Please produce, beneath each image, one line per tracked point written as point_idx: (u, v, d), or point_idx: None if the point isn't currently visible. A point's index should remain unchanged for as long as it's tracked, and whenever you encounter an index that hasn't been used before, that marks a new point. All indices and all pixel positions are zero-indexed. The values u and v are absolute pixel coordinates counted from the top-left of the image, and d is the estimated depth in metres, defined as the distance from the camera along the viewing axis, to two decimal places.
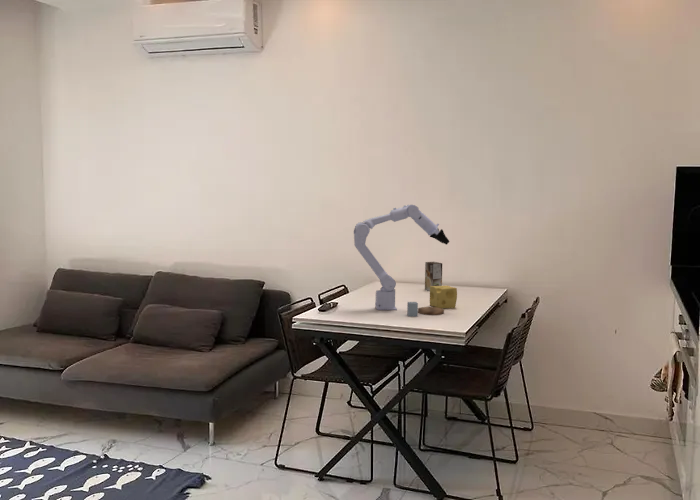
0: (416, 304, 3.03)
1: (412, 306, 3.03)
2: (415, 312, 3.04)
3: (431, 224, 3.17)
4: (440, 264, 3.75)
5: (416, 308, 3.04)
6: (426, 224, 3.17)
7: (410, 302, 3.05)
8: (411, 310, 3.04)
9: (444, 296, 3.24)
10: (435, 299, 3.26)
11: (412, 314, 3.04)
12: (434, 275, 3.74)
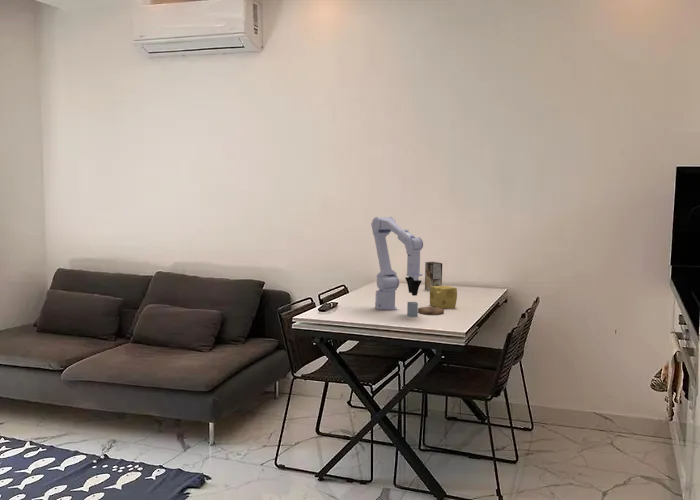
0: (416, 304, 3.03)
1: (412, 306, 3.03)
2: (415, 312, 3.04)
3: (417, 269, 3.01)
4: (440, 264, 3.75)
5: (416, 308, 3.04)
6: (414, 265, 3.01)
7: (410, 302, 3.05)
8: (411, 310, 3.04)
9: (444, 296, 3.24)
10: (435, 299, 3.26)
11: (412, 314, 3.04)
12: (434, 275, 3.74)
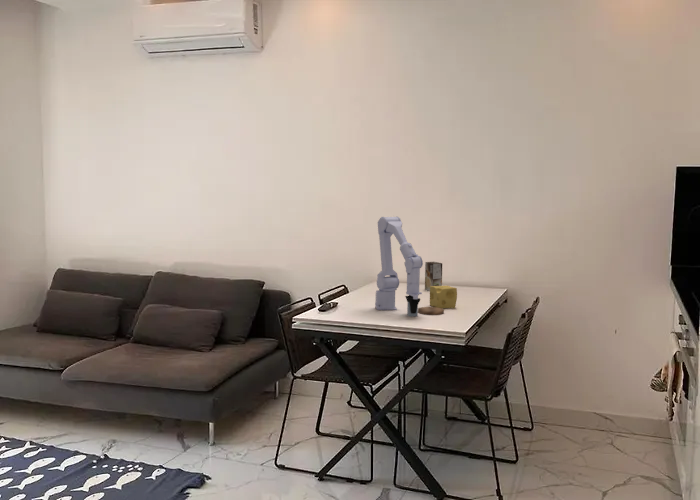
0: None
1: None
2: None
3: (416, 287, 3.02)
4: (440, 264, 3.75)
5: None
6: (413, 283, 3.02)
7: None
8: None
9: (444, 296, 3.24)
10: (435, 299, 3.26)
11: (412, 314, 3.04)
12: (434, 275, 3.74)
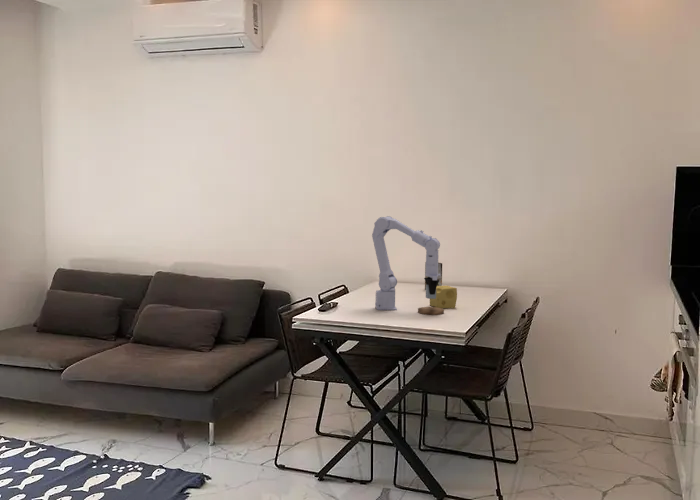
0: None
1: None
2: None
3: (435, 269, 3.09)
4: (440, 264, 3.75)
5: None
6: (432, 265, 3.09)
7: (428, 285, 3.13)
8: None
9: (444, 296, 3.24)
10: (435, 299, 3.26)
11: (431, 296, 3.11)
12: None
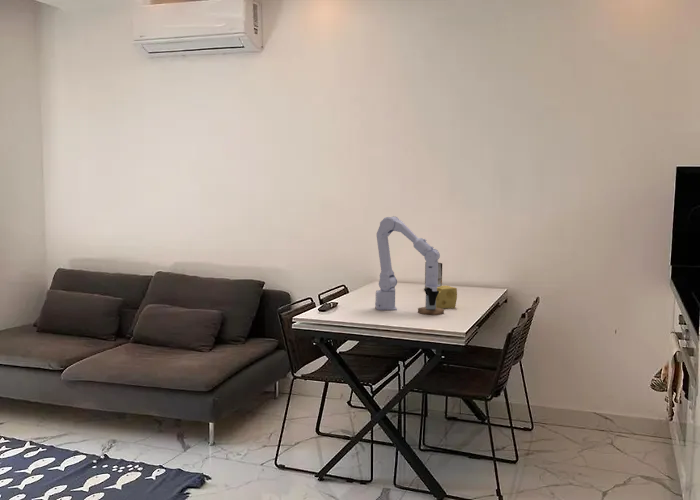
0: None
1: None
2: (433, 305, 3.11)
3: (435, 280, 3.10)
4: (440, 264, 3.75)
5: None
6: (432, 276, 3.09)
7: None
8: None
9: (444, 296, 3.24)
10: None
11: (430, 307, 3.11)
12: None
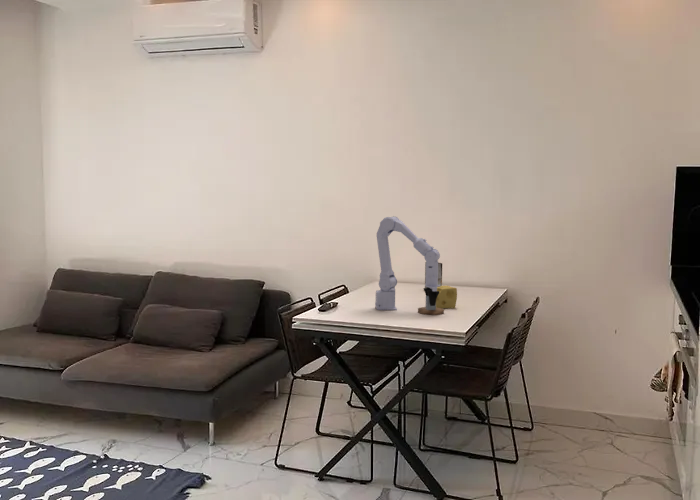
0: None
1: None
2: (433, 306, 3.11)
3: (435, 280, 3.10)
4: (440, 264, 3.75)
5: None
6: (432, 276, 3.09)
7: (428, 296, 3.13)
8: None
9: (444, 296, 3.24)
10: None
11: (430, 308, 3.11)
12: None
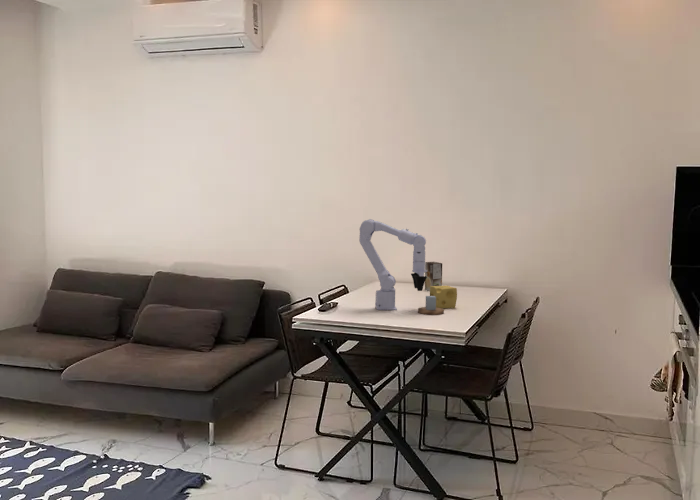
0: (434, 298, 3.11)
1: (430, 300, 3.11)
2: (433, 306, 3.11)
3: (422, 265, 3.15)
4: (440, 264, 3.75)
5: (434, 302, 3.11)
6: (419, 261, 3.14)
7: (428, 296, 3.13)
8: (430, 304, 3.11)
9: (444, 296, 3.24)
10: None
11: (430, 308, 3.11)
12: (434, 275, 3.74)
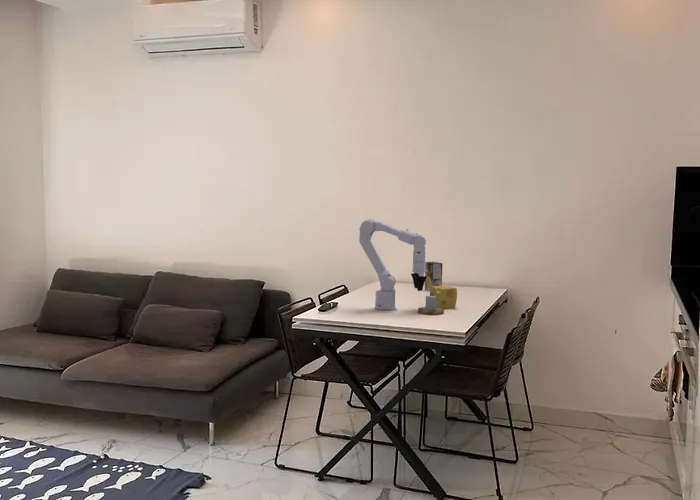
0: (434, 298, 3.11)
1: (430, 300, 3.11)
2: (433, 306, 3.11)
3: (422, 265, 3.15)
4: (440, 264, 3.75)
5: (434, 302, 3.11)
6: (419, 261, 3.14)
7: (428, 296, 3.13)
8: (430, 304, 3.11)
9: (444, 296, 3.24)
10: None
11: (430, 308, 3.11)
12: (434, 275, 3.74)
